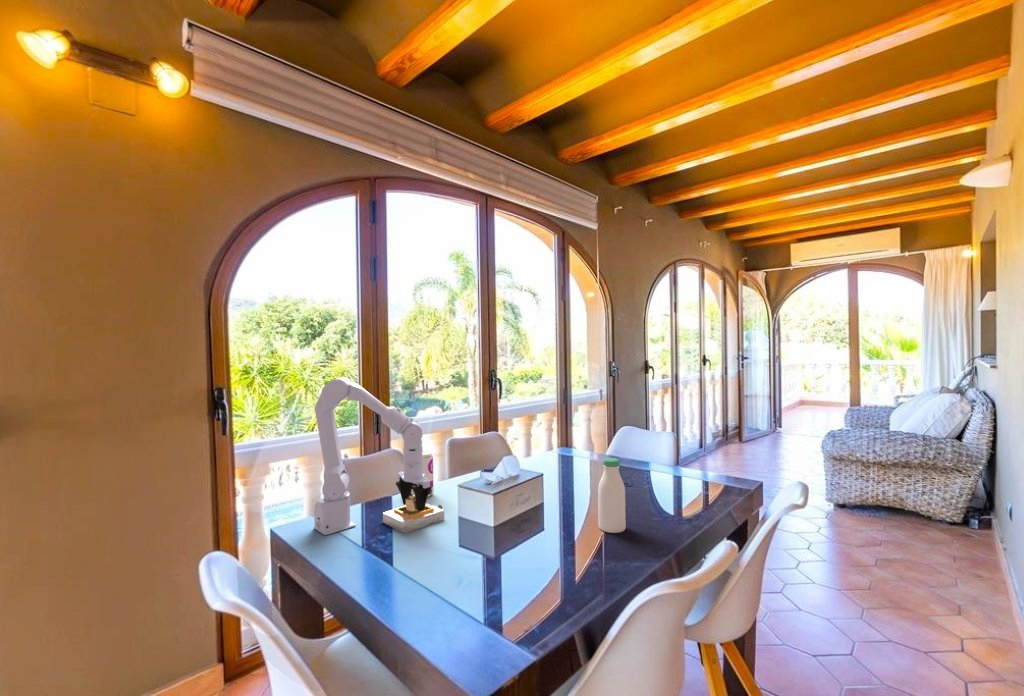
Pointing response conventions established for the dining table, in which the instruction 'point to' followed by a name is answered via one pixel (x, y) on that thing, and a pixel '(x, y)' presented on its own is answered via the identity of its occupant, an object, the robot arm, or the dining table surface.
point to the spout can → (411, 505)
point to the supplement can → (427, 470)
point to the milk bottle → (611, 498)
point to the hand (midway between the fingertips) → (413, 506)
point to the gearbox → (413, 518)
